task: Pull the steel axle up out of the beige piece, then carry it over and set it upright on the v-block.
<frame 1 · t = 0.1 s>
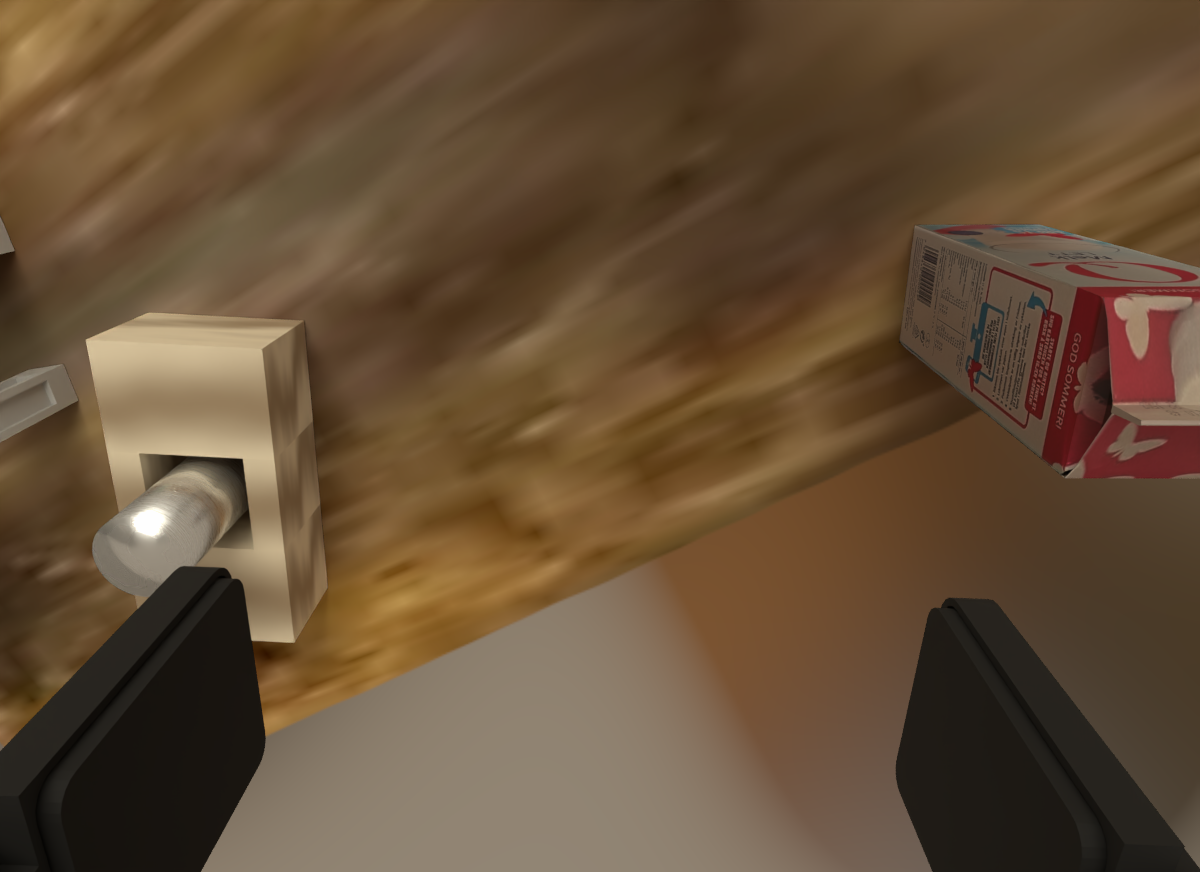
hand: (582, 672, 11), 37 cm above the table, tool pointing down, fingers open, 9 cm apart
steel axle: (197, 502, 45), in the beige piece
juice carton: (965, 284, 46), on the table
beige piece: (244, 459, 50), on the table
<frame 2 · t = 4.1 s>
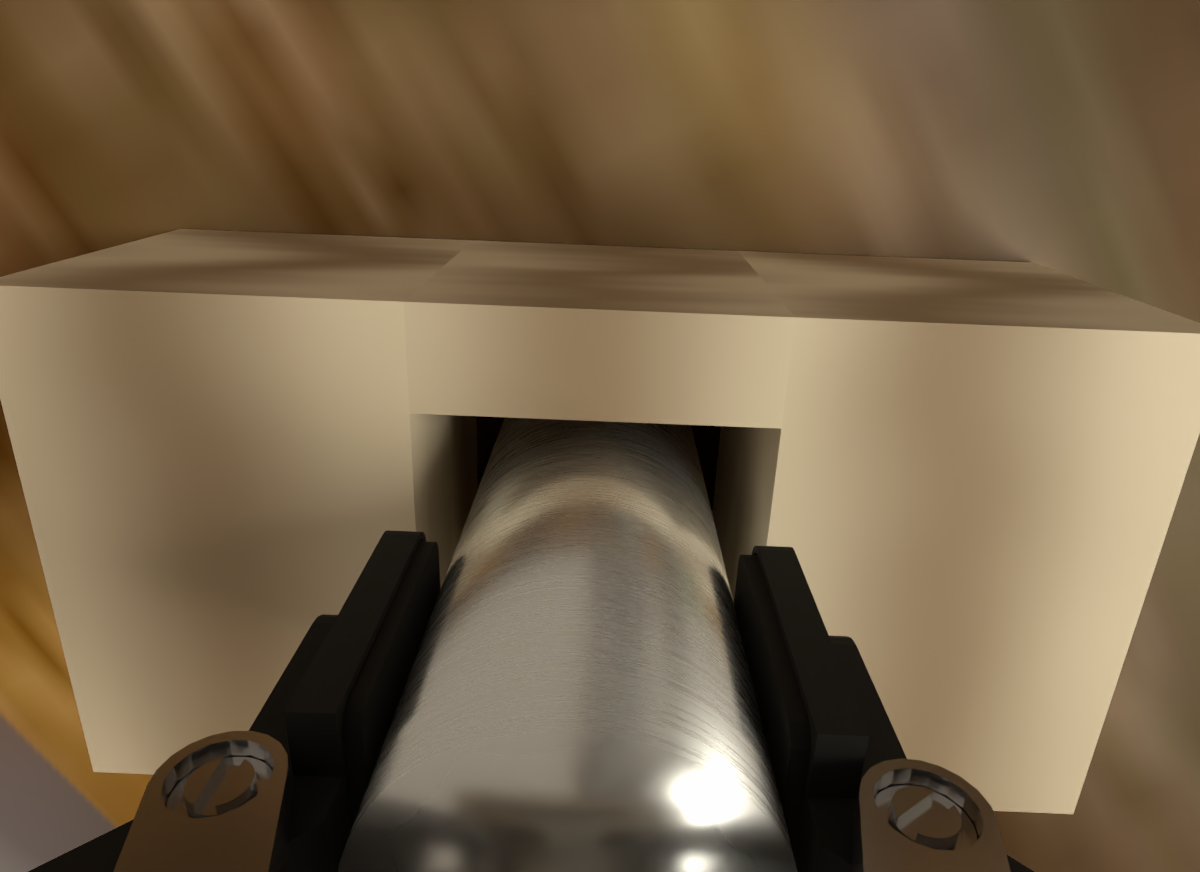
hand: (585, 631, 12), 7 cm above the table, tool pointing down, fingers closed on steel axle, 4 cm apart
steel axle: (588, 580, 13), in the beige piece, touching gripper
beige piece: (597, 442, 19), on the table
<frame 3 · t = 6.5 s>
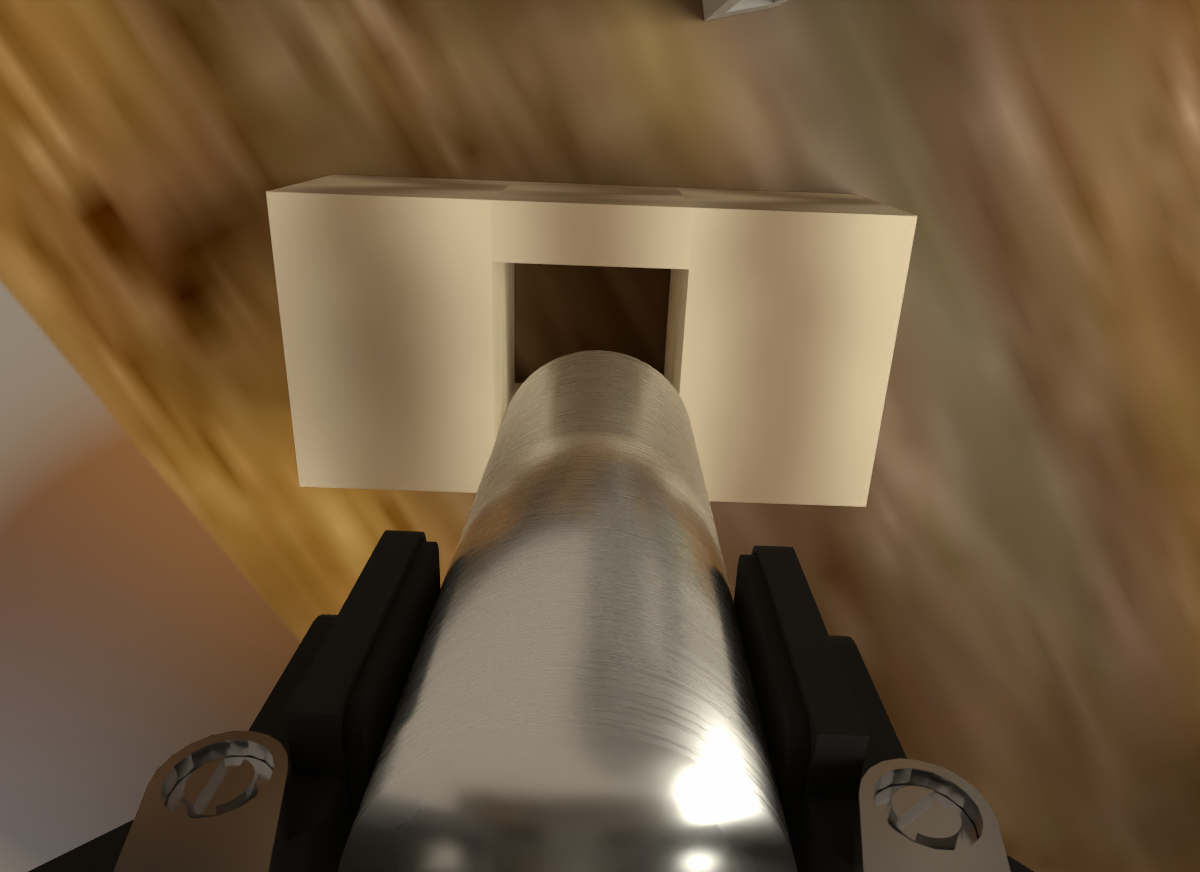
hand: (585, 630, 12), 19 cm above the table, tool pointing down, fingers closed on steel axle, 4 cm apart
steel axle: (588, 579, 13), point 18 cm above the table, touching gripper
beige piece: (591, 312, 30), on the table
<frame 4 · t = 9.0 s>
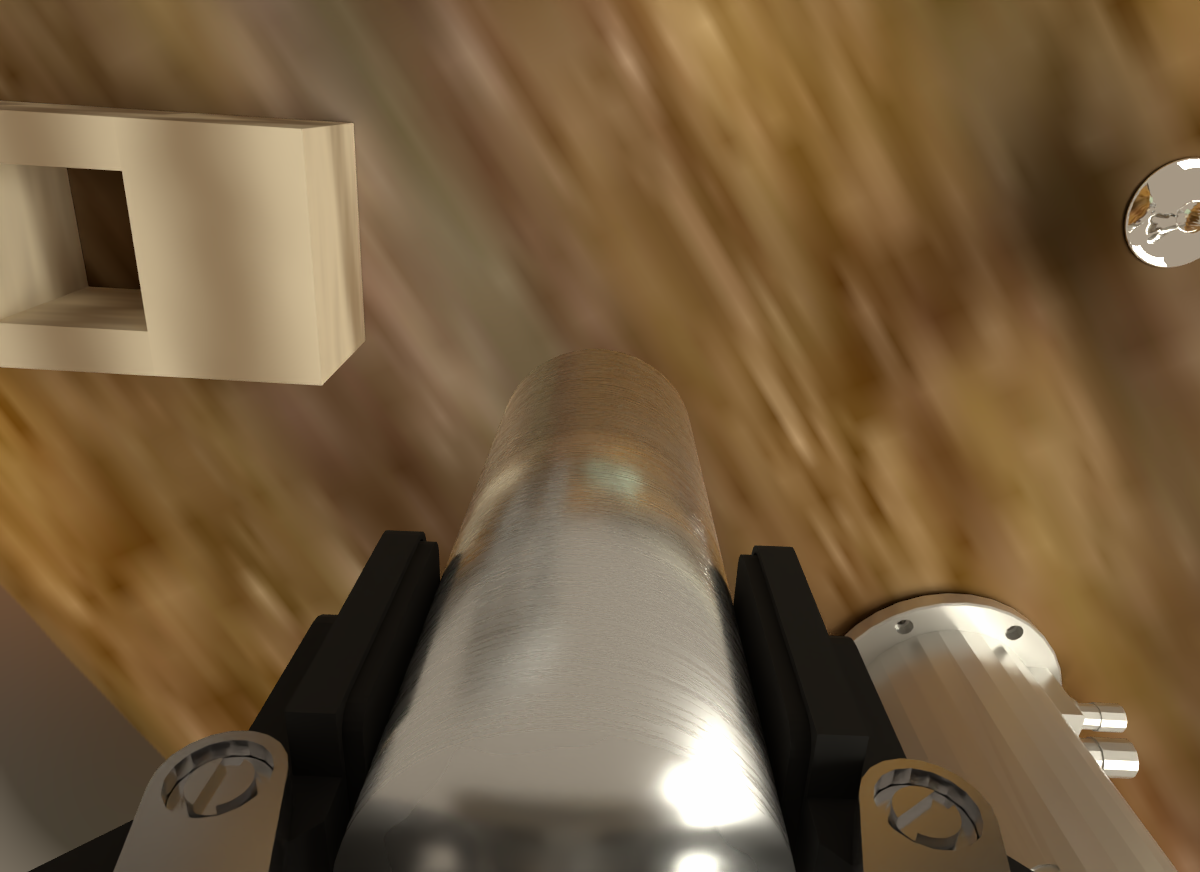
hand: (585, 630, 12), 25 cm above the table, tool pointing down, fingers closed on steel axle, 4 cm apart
steel axle: (586, 578, 13), point 24 cm above the table, touching gripper
beige piece: (143, 224, 34), on the table
wineglass: (1176, 213, 34), on the table
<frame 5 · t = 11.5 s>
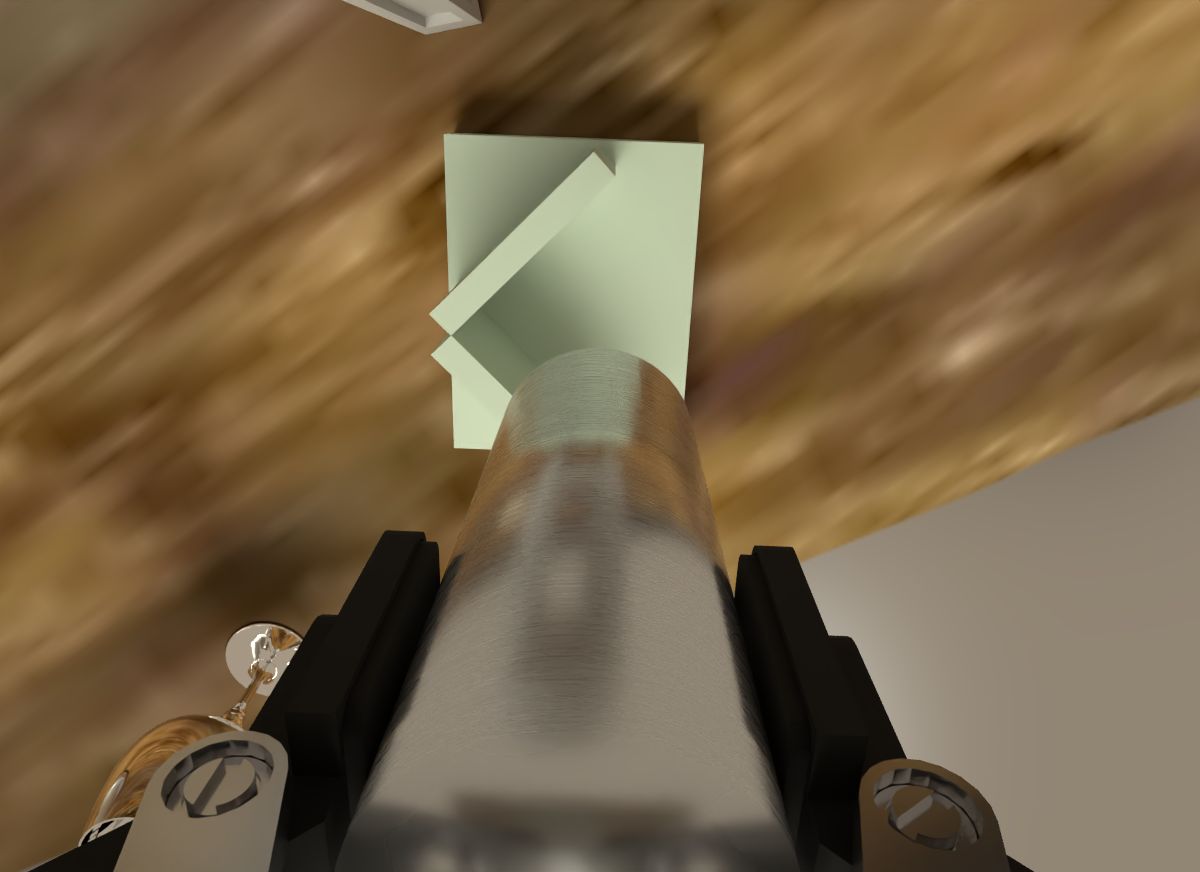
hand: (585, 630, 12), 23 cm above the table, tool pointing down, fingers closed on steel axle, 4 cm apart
steel axle: (588, 578, 13), point 22 cm above the table, touching gripper
v-block: (602, 297, 34), on the table
wineglass: (271, 657, 41), on the table
when the fingers open (11 cm above the table, at t = 13.9 s): steel axle drops 2 cm, resting on v-block.
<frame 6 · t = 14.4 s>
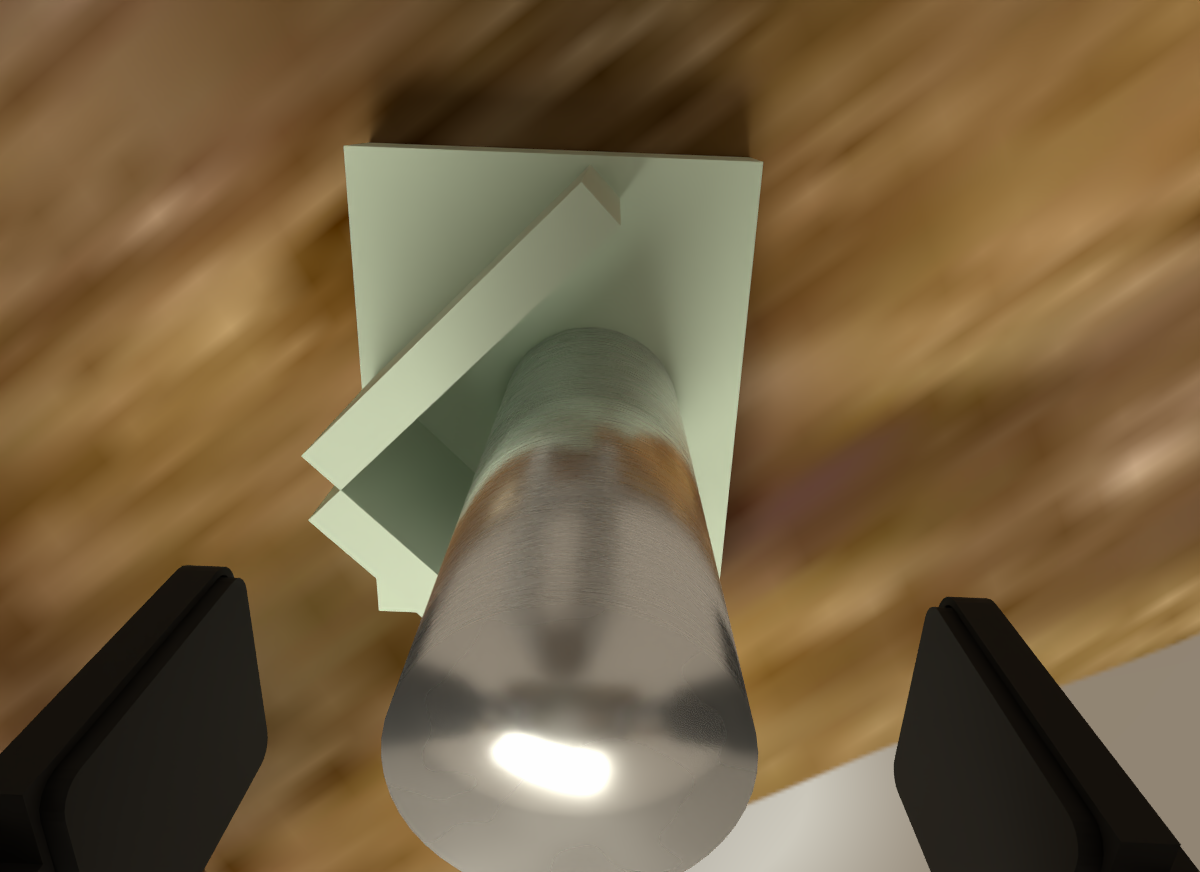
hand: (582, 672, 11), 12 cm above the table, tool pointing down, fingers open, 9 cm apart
steel axle: (584, 523, 15), point 8 cm above the table, touching v-block
v-block: (600, 388, 23), on the table
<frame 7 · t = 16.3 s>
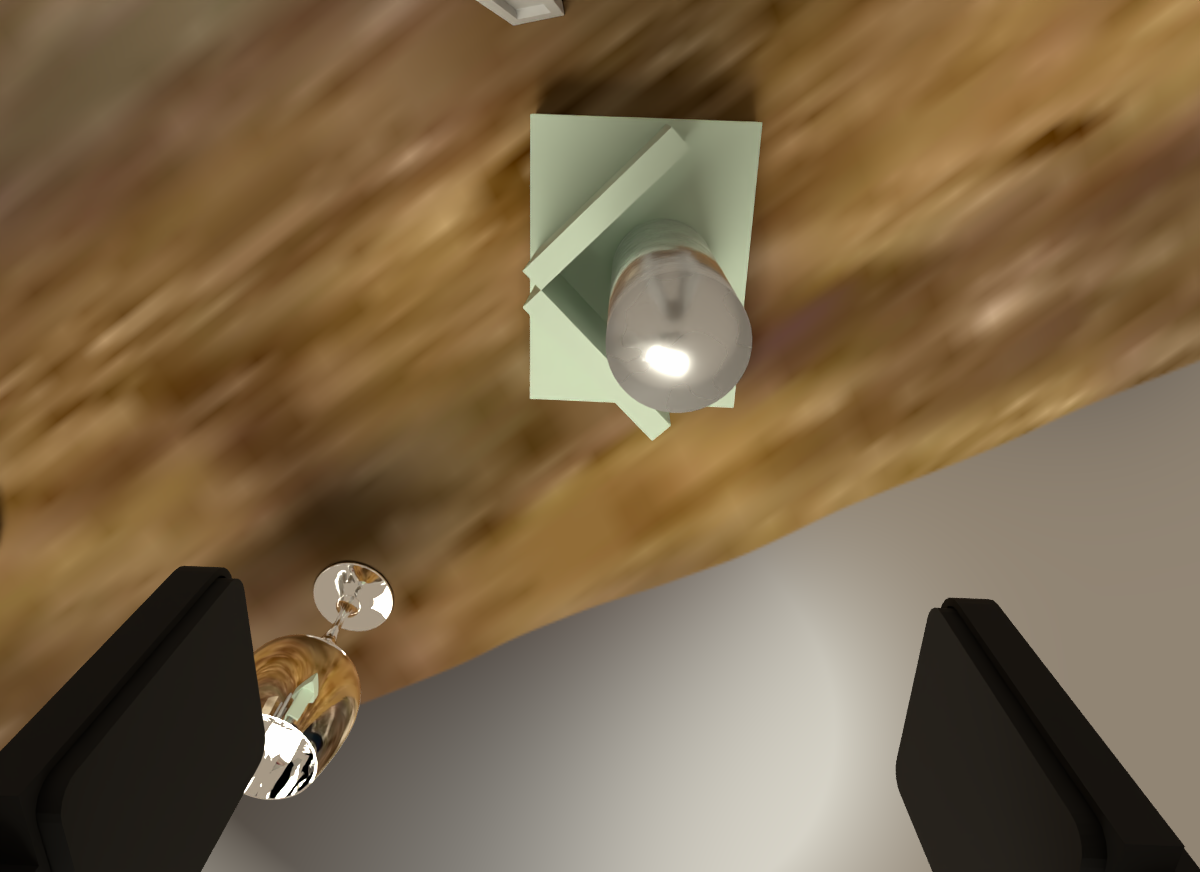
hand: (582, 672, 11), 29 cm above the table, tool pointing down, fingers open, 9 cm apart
steel axle: (668, 300, 30), point 8 cm above the table, touching v-block
v-block: (665, 263, 38), on the table
wineglass: (354, 594, 45), on the table
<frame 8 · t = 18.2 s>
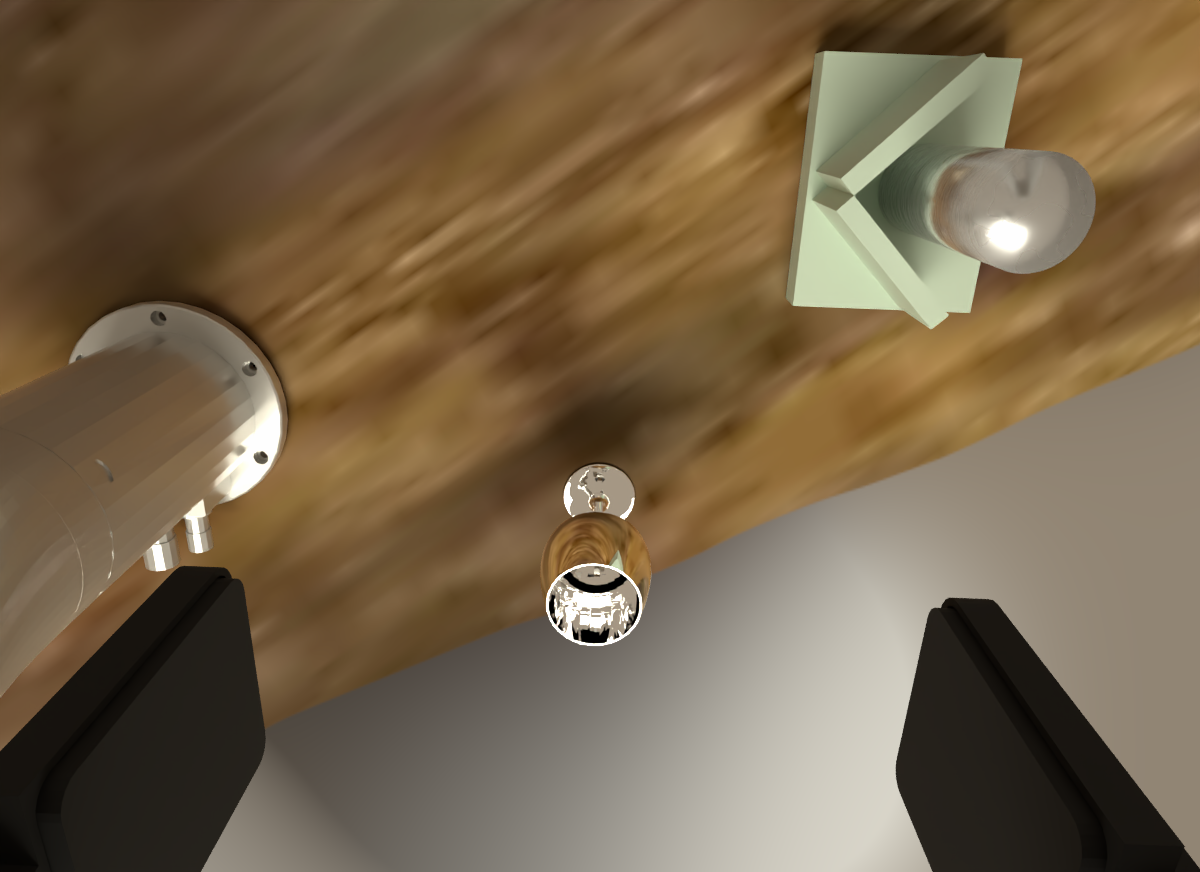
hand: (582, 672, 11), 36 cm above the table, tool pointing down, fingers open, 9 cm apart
steel axle: (969, 199, 36), point 8 cm above the table, touching v-block
v-block: (912, 186, 43), on the table
wineglass: (599, 495, 51), on the table
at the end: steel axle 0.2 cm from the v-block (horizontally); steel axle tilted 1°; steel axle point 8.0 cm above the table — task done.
